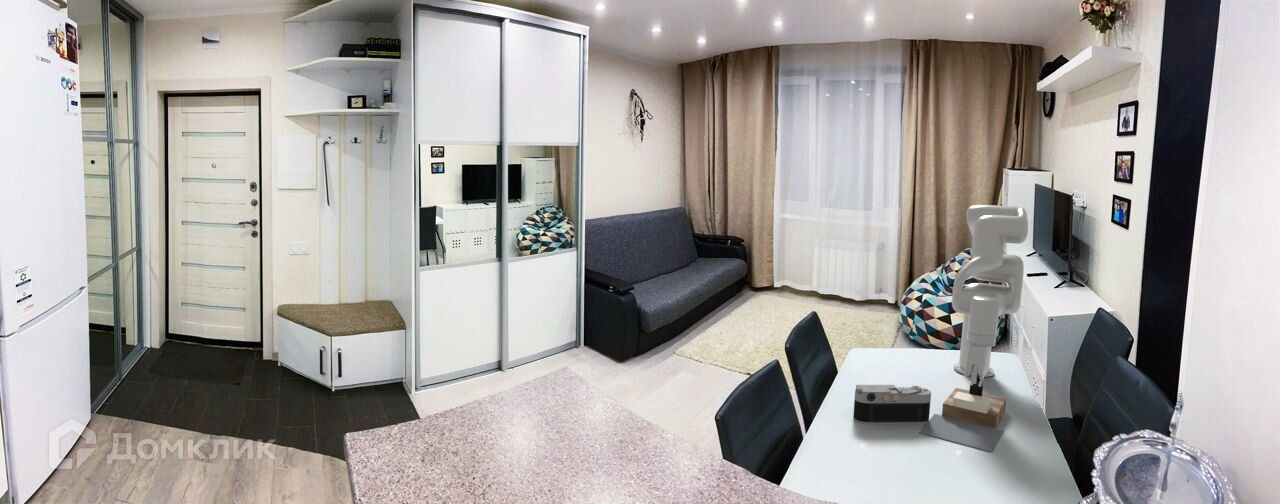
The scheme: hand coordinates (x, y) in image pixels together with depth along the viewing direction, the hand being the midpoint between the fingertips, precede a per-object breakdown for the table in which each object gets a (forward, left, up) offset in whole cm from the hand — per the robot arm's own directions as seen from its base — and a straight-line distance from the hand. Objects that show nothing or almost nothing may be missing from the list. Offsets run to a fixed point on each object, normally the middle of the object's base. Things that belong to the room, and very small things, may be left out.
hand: (975, 398), depth 193 cm
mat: (+16, 0, -5) cm, 17 cm away
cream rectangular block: (+5, 0, -1) cm, 5 cm away
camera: (+19, -19, -5) cm, 27 cm away
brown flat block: (0, 0, -5) cm, 5 cm away
